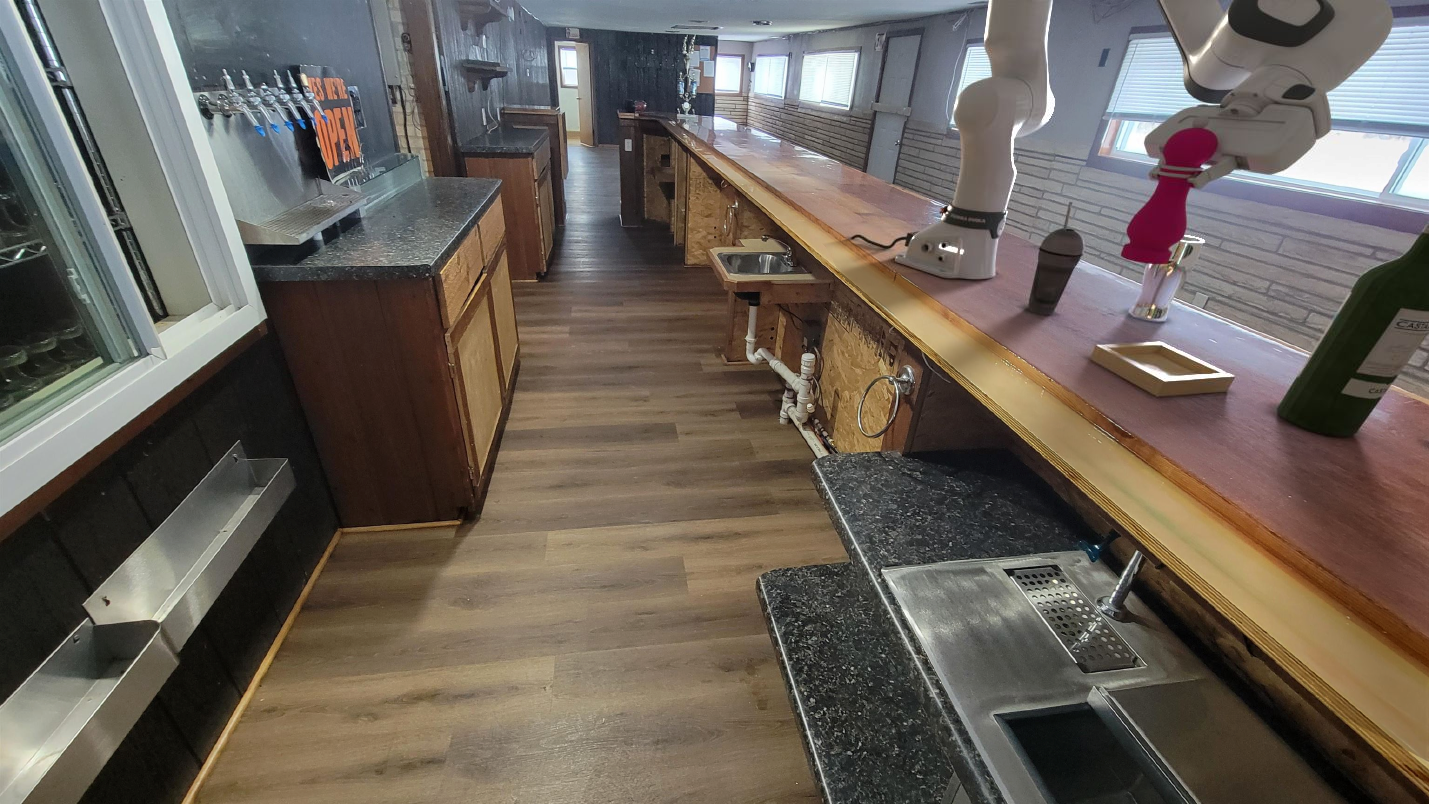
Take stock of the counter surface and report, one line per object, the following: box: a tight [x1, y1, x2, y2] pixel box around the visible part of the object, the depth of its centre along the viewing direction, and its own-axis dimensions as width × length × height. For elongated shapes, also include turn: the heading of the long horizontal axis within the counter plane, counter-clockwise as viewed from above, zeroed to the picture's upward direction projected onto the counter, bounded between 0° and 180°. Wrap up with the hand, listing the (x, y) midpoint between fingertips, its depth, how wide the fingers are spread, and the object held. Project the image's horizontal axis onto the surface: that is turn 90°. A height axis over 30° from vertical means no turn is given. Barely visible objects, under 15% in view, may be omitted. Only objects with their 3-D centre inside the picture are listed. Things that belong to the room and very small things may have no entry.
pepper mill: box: [1120, 115, 1218, 264], centre depth 83 cm, size 7×7×20 cm
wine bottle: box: [1276, 221, 1429, 438], centre depth 67 cm, size 8×8×30 cm
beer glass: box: [1128, 234, 1205, 323], centre depth 105 cm, size 7×7×15 cm
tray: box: [1089, 341, 1236, 398], centre depth 85 cm, size 12×12×2 cm
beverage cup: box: [1027, 201, 1085, 316], centre depth 104 cm, size 7×7×20 cm
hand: (1172, 181), depth 82 cm, fingers closed on pepper mill, 5 cm apart
